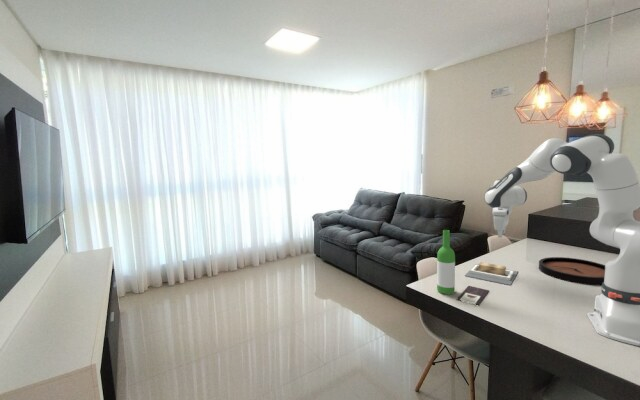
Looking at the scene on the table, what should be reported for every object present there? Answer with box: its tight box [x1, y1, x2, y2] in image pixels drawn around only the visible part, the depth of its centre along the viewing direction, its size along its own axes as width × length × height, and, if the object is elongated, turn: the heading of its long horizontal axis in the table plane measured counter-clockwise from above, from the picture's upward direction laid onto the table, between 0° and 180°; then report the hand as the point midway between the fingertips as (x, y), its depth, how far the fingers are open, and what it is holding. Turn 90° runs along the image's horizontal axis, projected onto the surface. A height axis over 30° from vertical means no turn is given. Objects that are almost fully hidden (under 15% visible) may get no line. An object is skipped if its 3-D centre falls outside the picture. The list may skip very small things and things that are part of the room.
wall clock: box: [538, 256, 606, 286], centre depth 157 cm, size 31×4×31 cm
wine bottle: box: [436, 229, 456, 295], centre depth 140 cm, size 8×8×30 cm
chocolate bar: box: [456, 285, 490, 306], centre depth 137 cm, size 9×1×18 cm
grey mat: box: [464, 263, 519, 286], centre depth 161 cm, size 22×21×2 cm
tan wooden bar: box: [479, 261, 507, 276], centre depth 160 cm, size 12×4×4 cm, turn 48°
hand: (501, 235), depth 158 cm, fingers open, 8 cm apart
